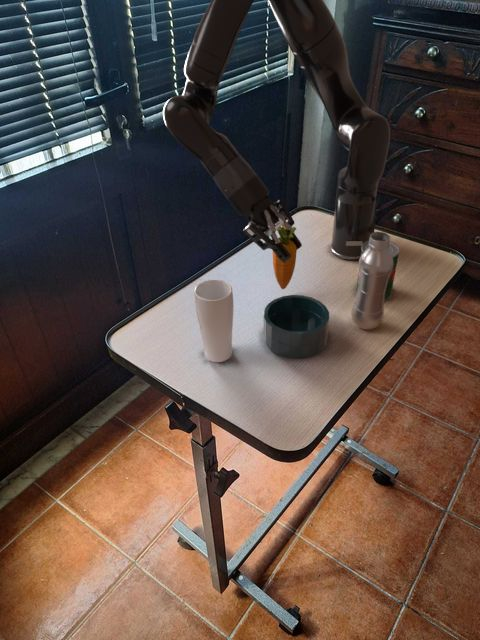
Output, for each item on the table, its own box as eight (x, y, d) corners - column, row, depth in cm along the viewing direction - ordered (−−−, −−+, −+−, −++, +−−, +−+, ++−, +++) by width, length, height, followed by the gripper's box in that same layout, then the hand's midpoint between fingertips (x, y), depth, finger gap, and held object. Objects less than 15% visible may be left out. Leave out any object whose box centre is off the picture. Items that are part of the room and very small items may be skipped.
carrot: (295, 283, 115) (298, 221, 105) (293, 296, 111) (297, 232, 101) (272, 282, 115) (274, 220, 105) (270, 294, 111) (272, 231, 101)
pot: (302, 311, 110) (304, 288, 106) (339, 344, 102) (342, 319, 98) (252, 331, 105) (251, 307, 101) (286, 366, 97) (287, 342, 93)
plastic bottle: (371, 311, 110) (385, 225, 97) (388, 329, 105) (405, 241, 92) (344, 317, 108) (355, 231, 95) (360, 336, 103) (374, 248, 90)
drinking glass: (204, 369, 96) (197, 303, 87) (197, 346, 101) (190, 282, 92) (239, 362, 98) (237, 297, 88) (231, 340, 103) (227, 276, 93)
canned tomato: (398, 296, 114) (407, 252, 107) (369, 305, 111) (376, 261, 104) (376, 278, 120) (384, 236, 112) (348, 287, 117) (354, 244, 110)
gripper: (233, 188, 95) (290, 262, 99) (269, 163, 105) (319, 230, 108) (211, 209, 100) (265, 278, 104) (247, 183, 110) (295, 247, 114)
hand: (292, 253), depth 106 cm, fingers closed on carrot, 4 cm apart
